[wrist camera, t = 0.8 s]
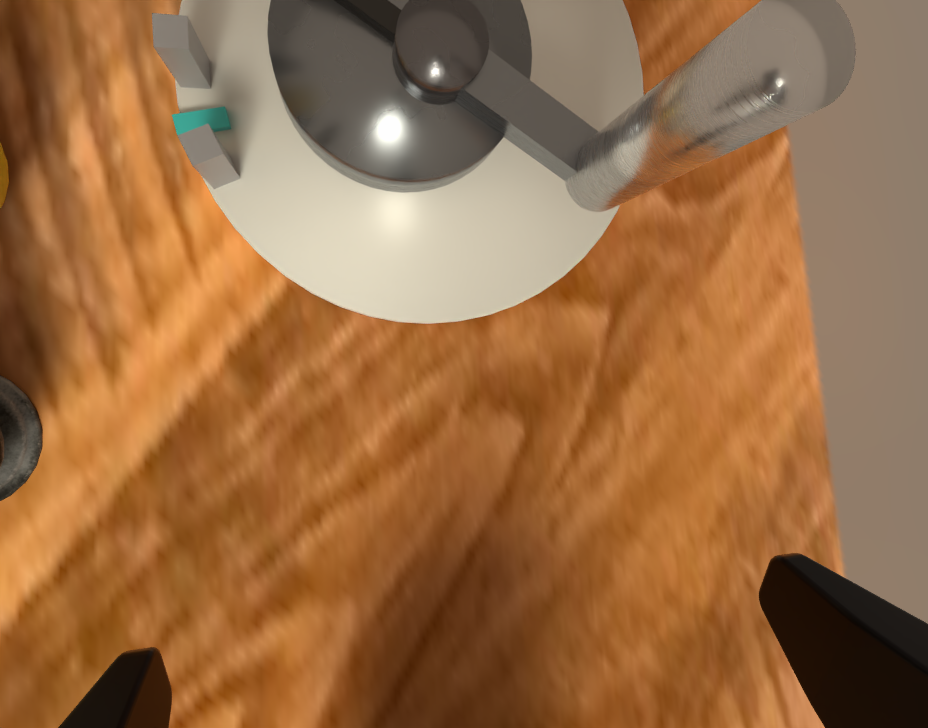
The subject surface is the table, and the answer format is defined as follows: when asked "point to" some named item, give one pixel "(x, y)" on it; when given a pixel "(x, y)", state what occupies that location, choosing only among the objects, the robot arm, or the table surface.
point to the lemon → (3, 176)
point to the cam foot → (535, 93)
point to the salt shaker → (17, 438)
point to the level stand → (384, 212)
